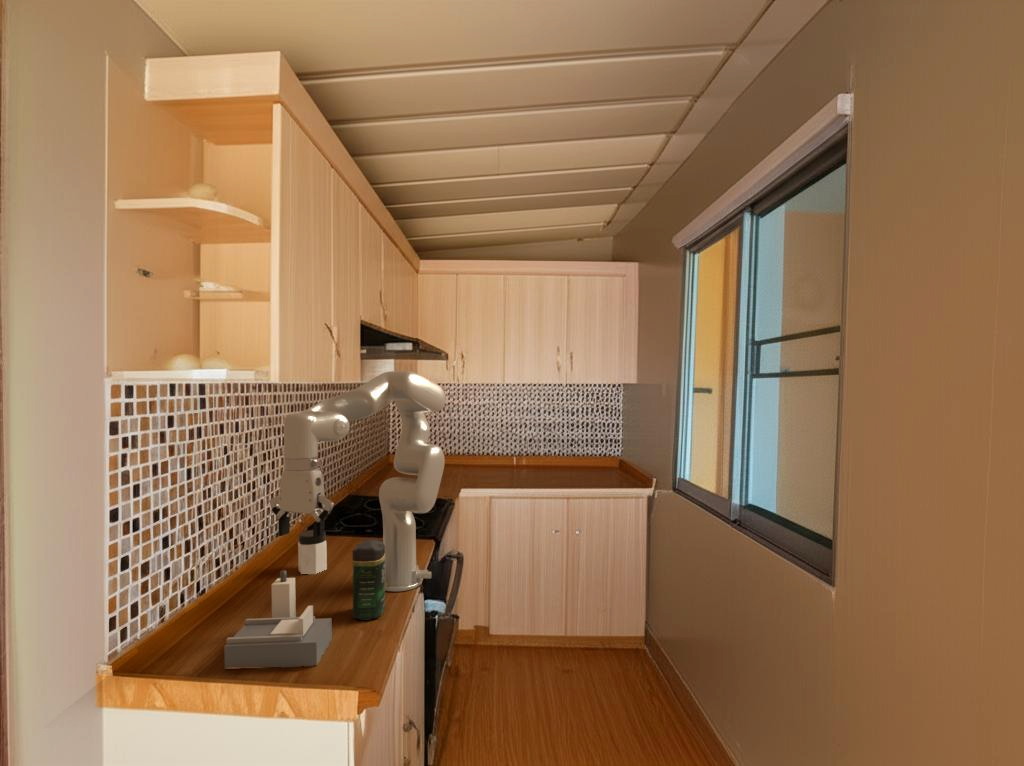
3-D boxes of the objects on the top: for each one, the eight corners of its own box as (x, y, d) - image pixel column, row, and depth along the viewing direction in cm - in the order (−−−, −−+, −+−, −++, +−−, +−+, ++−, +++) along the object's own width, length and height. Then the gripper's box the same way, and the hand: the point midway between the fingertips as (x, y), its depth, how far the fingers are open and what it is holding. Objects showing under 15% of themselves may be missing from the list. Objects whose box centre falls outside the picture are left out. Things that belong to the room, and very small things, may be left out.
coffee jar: (381, 620, 138) (380, 547, 138) (349, 622, 138) (348, 548, 138) (388, 605, 148) (387, 536, 148) (358, 606, 148) (357, 537, 147)
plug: (295, 626, 136) (295, 568, 136) (290, 633, 132) (289, 573, 132) (278, 626, 136) (277, 568, 136) (272, 634, 132) (271, 574, 132)
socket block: (331, 639, 129) (331, 613, 129) (316, 665, 117) (316, 637, 117) (248, 642, 127) (248, 617, 127) (224, 669, 115) (224, 641, 115)
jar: (294, 575, 172) (293, 537, 172) (302, 566, 180) (302, 530, 180) (322, 574, 172) (322, 536, 172) (330, 565, 181) (329, 529, 181)
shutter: (313, 622, 126) (312, 605, 126) (303, 636, 119) (303, 618, 119) (281, 623, 125) (281, 606, 125) (270, 637, 118) (270, 620, 118)
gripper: (341, 463, 133) (341, 534, 133) (281, 461, 138) (281, 529, 138) (322, 468, 126) (323, 542, 126) (259, 465, 131) (260, 537, 131)
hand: (301, 535), depth 132 cm, fingers open, 9 cm apart
